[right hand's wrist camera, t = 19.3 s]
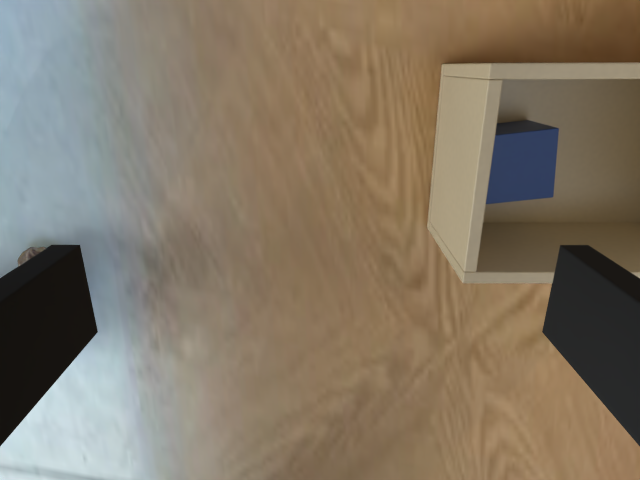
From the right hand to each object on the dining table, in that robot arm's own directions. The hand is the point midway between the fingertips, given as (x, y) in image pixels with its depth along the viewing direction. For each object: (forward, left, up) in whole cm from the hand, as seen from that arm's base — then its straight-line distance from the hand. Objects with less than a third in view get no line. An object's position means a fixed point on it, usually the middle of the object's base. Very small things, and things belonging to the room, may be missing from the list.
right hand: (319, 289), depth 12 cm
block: (+12, +1, -20) cm, 23 cm away
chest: (+16, +2, -20) cm, 26 cm away
